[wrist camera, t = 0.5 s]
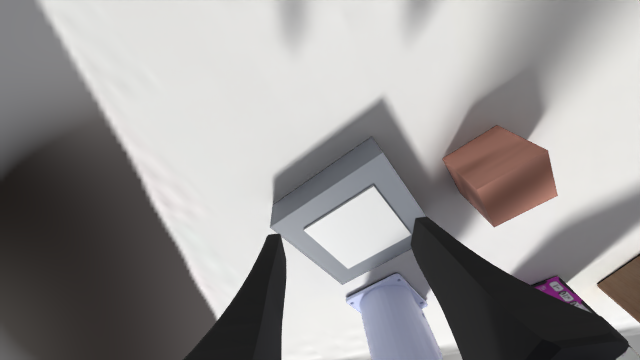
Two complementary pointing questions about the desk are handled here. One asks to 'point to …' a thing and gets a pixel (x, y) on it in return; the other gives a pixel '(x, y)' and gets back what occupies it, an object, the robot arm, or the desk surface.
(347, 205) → the grey square frame
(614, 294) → the wooden block
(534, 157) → the salmon brown cube
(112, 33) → the desk surface
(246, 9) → the desk surface
